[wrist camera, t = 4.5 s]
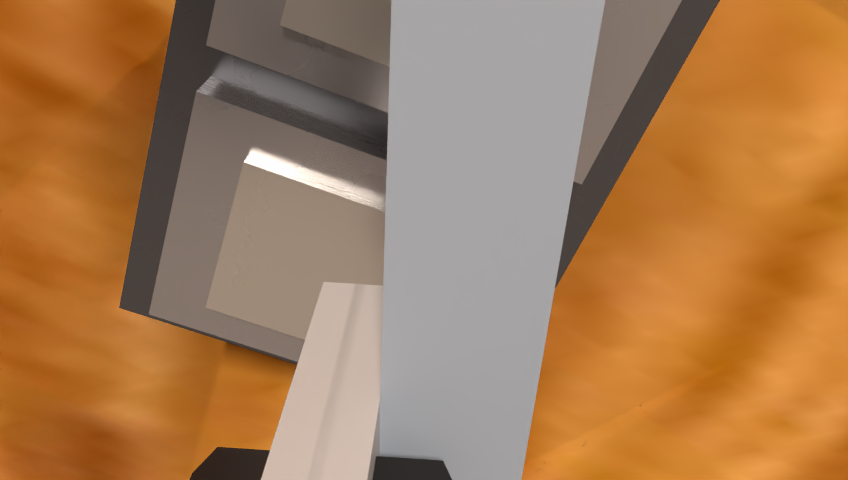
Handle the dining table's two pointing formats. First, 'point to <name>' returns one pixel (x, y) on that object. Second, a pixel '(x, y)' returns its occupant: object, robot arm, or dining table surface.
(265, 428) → the dining table surface
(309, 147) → the grey stepped machine part
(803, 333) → the dining table surface
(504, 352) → the light grey bar
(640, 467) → the dining table surface
